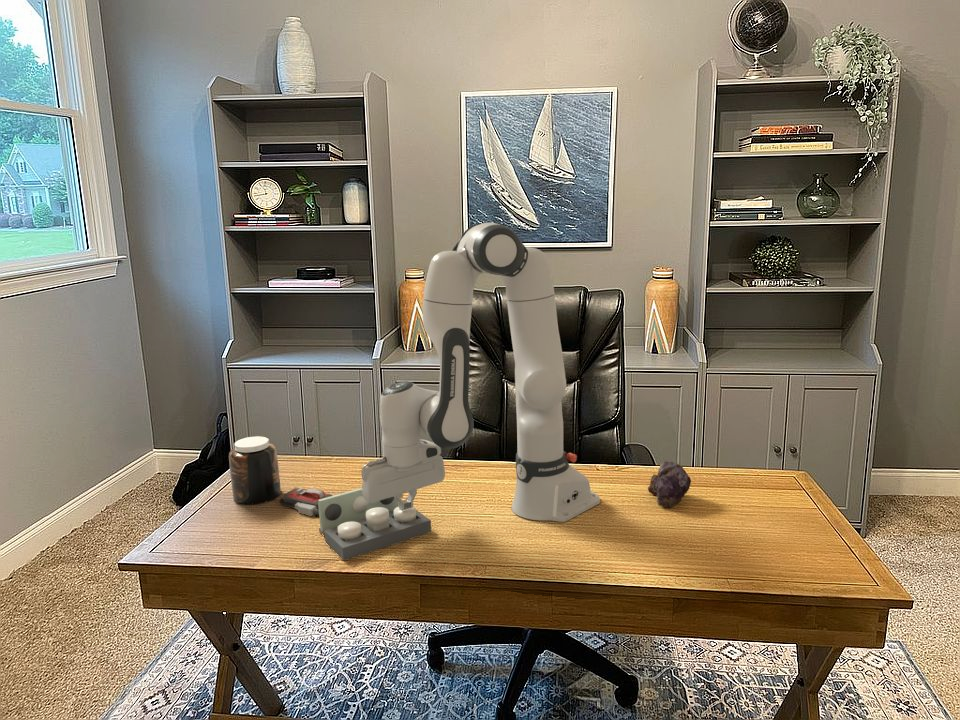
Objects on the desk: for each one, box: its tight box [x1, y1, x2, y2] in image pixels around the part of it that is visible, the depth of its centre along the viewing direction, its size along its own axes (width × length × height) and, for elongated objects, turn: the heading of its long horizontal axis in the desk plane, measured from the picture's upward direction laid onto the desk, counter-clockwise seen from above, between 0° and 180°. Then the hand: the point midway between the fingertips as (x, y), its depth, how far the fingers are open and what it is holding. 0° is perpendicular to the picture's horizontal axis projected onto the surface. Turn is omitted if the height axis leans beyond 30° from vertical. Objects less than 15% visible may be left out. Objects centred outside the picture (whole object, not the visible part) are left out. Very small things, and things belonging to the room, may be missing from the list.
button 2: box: [394, 506, 417, 524], centre depth 176 cm, size 5×5×4 cm
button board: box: [324, 509, 432, 561], centre depth 173 cm, size 22×10×3 cm, turn 124°
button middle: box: [366, 507, 389, 533], centre depth 172 cm, size 5×5×4 cm
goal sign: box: [318, 487, 399, 537], centre depth 180 cm, size 20×3×8 cm, turn 124°
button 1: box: [338, 522, 362, 542], centre depth 169 cm, size 5×5×4 cm
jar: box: [228, 435, 282, 506], centre depth 196 cm, size 12×12×15 cm
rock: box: [647, 460, 692, 508], centre depth 188 cm, size 12×9×10 cm
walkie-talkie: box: [278, 487, 334, 517], centre depth 189 cm, size 9×4×20 cm
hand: (406, 508), depth 176 cm, fingers closed
